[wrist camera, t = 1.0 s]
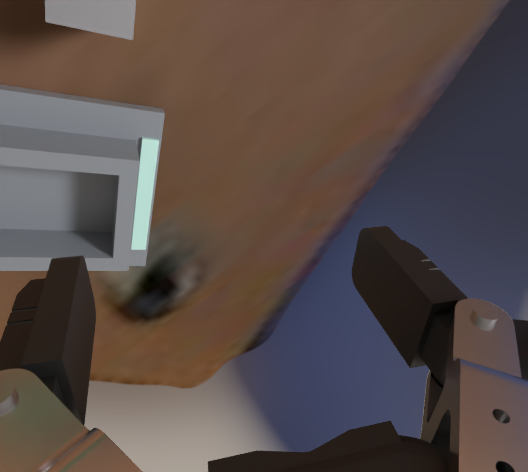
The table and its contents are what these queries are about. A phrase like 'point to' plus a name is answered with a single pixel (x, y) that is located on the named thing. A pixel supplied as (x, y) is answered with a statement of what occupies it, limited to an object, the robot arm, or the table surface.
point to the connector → (94, 15)
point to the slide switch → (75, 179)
